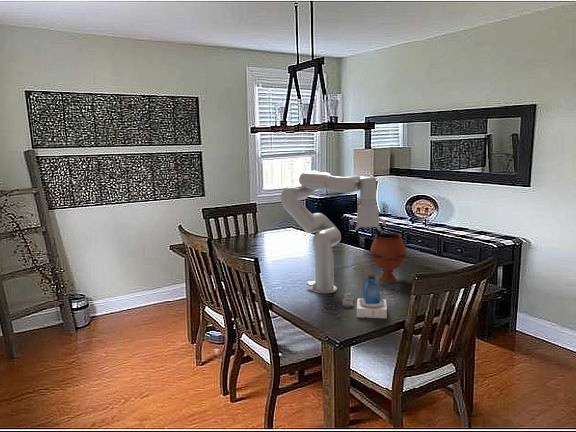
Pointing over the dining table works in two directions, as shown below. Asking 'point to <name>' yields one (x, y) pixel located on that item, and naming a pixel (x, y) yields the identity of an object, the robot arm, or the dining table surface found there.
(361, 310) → the scale
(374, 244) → the goblet
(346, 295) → the ring
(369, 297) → the perfume bottle
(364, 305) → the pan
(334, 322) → the dining table surface
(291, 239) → the dining table surface
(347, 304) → the spacer
